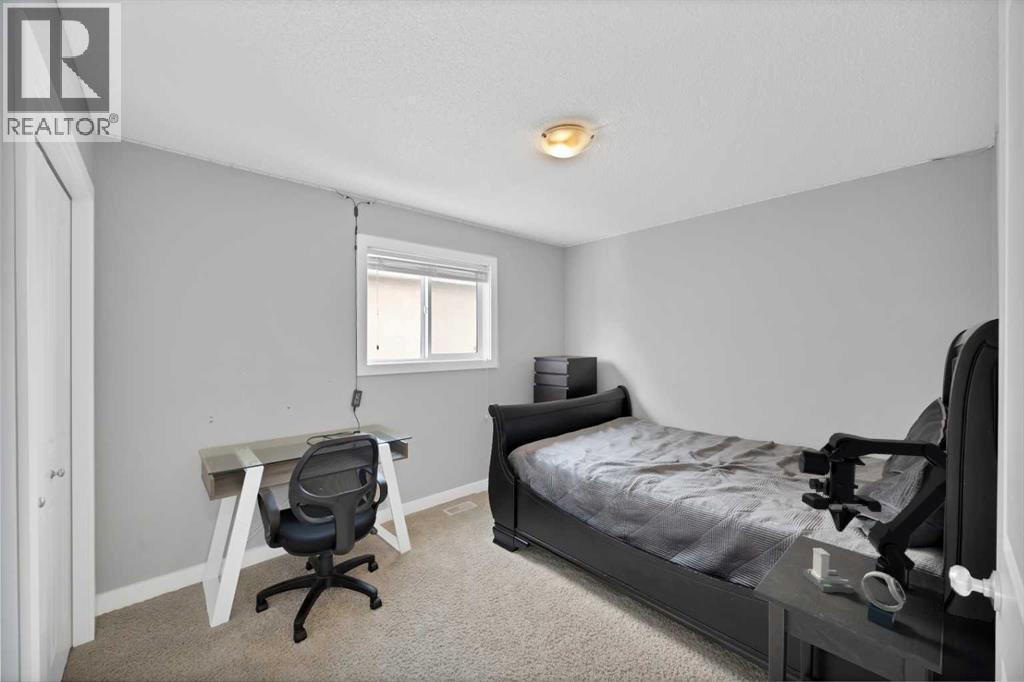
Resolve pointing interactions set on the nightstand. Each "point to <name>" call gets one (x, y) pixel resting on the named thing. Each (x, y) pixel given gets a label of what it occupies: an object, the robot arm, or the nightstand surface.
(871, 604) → the watch
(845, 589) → the breaker panel
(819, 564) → the handle
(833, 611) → the nightstand surface
